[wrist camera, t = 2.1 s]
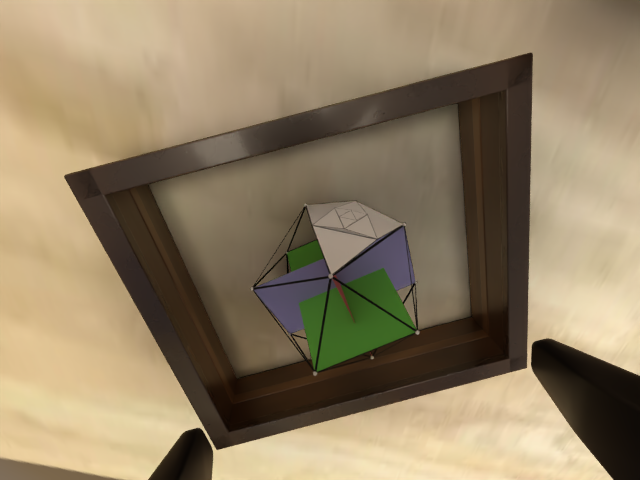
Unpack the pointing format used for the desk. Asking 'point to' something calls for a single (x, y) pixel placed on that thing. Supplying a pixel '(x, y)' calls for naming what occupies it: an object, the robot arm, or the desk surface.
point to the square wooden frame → (387, 367)
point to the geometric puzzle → (344, 284)
